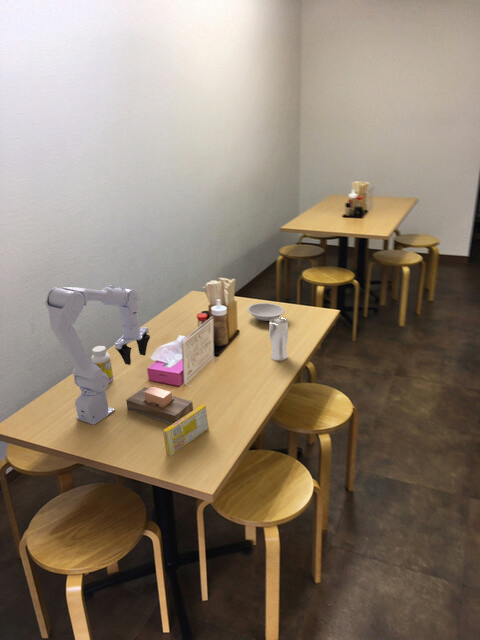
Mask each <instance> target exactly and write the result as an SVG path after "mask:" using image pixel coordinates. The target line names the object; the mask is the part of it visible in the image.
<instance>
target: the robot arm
mask: <svg viewBox="0 0 480 640" xmlns="http://www.w3.org/2000/svg"><path fill="white" fill-rule="evenodd" d="M140 299H141V298H140V295H139V294H138V293H137V291H136V290H134V289H127V288H126V287H123V286H120V287H115V285H110V284H109V285H108V286H106V287H105V286H104V287H103V288H102V289H101V290H100V289H93V288H85V287H76V286H75V287H74V286H73V287H71V286H70V287H69V286H68V287H67V286H64V287H62V288H60V287H57V286H56V287H53V288H51V289H50V290H49V291H48V293H47V295H46V299H45V302H44V305H45V307H46V308H47V310H48V315H49V325H50V327H51V330H52V331H53V333H54V335H55V337H56V338H57V341H58V342H59V344H60V346H61V347H62V348H63V351H64V352H65V354H66V355H67V356H66V357H68V360H69V361H70V362H71V364H72V365H73V370H72V372H71V373H72V376H73V380H74V384H75V385H76V386H77V387H78V388H79V391H81V392H80V394H79V396H78V397H77V398H76V399H75V402H74V403H75V408H76V414H77V415H76V416H75V417H76V419H77V420H80V421H82V422H85V423H87V424H89V425H93V426H94V425H96V424H97V423H99V422H101V420H103V419H105V418H106V417H107V416H109V415H110V414H112V413H114V412H115V408H112V407H109V404H108V397H107V392H106V390H107V388H108V387H109V383H110V382H109V378H108V375H107V374H105V373H103V372H102V370H101V369H100V368H99V367H98V366H96V365H95V364H94V363H93V362H92V360H91V357H90V355H89V353H88V351H87V350H86V347H85V346H84V344H83V342H82V340H81V338H80V337H79V335H78V333H77V331H76V330H75V328H74V325H73V324H75V323H76V322H77V320H78V318H79V316H80V315H81V313H82V311H83V309H84V307H85V306H87V305H88V301H89V302H90V301H94V302H96V301H97V302H100V303H101V304H102V305H104V306H113V307H114V306H115V307H118V308H119V315H120V322H121V323H120V324H121V330H122V336H121V337H119V339H118V340H117V341H116V342H114V346H115V350H116V351H117V352H118V354H119V355H120V356H121V358H122V360H123V363H124V364H125V365H128V366H130V365H131V363H132V358H131V352H132V347H131V346H130V347H129V346H128V344H130V343H131V342H135V341H136V344H137V347H138V353H139V355H140V356H146V353H147V347H148V343H149V340H150V339H151V336H150V334H149V333H150V332H149V331H150V330H149V327H146V326H143V327H140V322H139V321H140V320H139V314H138V311H139V303H140Z"/></svg>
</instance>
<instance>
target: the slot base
mask: <svg viewBox="0 0 480 640" xmlns="http://www.w3.org/2000/svg"><path fill="white" fill-rule="evenodd" d="M149 388H150V387H149ZM149 388H148V387H142V388H141V389H140V390H138V391H136V392H135V393H134V394H132V395H131V396H130V397H128V398H127V399H125V401H126V407H127V410H128V411H131V410H132V412H134V411H135V413H136V414H140V413H141V414H140V415H144V416H146V417H150V418H151V419H155V420H158V421H160V422H164V423H166V424H170V425H172V424H173V423H175V422H176V421H178V420H179V419H181V418H182V417H184V416H185V415H187V414H189V413H190V412H192V411H193V410H194V406H193V405H194V404H193V401H191V400H188V399H185V398H181V397H179V396H175V395H172V401H171V403H170V404H169V405H168V406H166V407H165V408H161V407H159V406H158V404H156V403H153V404H149V403H147V402H146V400H145V396H144V392H145V391H146V390H148V389H149Z"/></svg>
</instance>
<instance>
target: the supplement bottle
mask: <svg viewBox="0 0 480 640" xmlns="http://www.w3.org/2000/svg"><path fill="white" fill-rule="evenodd" d="M91 350H92V351H91V352H92V355H91V357H90V358H91V360H92V362H93V363H94V364H95V365H96V366H98V367H99V368H100V369H101V370H102V372H103V373H105V374H107V375H108V378H109V383H111V382H113V380H114V374H113V368H112V360H111V355H110V353H108V352H107V347H106V346H105V345H96V346H94V347H93V348H92V349H91Z"/></svg>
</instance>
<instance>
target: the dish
mask: <svg viewBox="0 0 480 640" xmlns="http://www.w3.org/2000/svg"><path fill="white" fill-rule="evenodd" d="M247 312H248V313H249V314H250V315H251V316H253V318H255V319H257V320H259V321H264V322H268V321H269V322H270V320H271V319H273V318H280V317H281V316H282V315H284V313H285V309H284V307H283V306H281V305H279V304H275V303H269V302H268V303H267V302H259V303H254V304H250V305H249V306H248V307H247Z"/></svg>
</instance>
